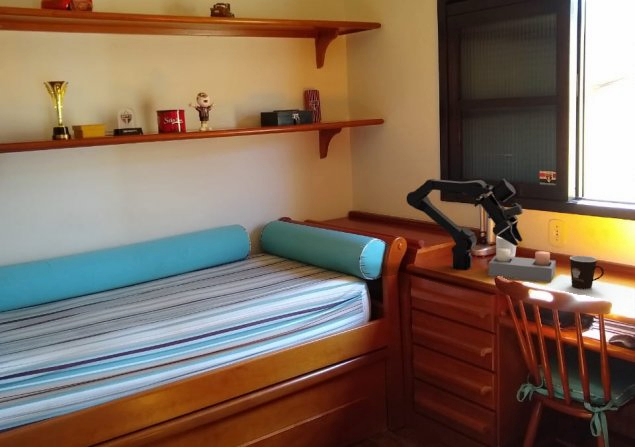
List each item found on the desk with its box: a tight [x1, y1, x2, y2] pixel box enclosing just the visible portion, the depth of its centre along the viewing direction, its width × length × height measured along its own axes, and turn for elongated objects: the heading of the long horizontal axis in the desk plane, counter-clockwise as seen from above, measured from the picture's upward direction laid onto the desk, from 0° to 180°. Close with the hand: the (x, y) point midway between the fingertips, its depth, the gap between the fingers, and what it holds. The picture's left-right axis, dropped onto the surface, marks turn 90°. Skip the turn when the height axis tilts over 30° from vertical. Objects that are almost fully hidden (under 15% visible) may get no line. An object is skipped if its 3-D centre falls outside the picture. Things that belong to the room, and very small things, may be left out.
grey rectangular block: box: [488, 254, 556, 283], centre depth 237 cm, size 22×12×5 cm, turn 64°
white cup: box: [495, 235, 518, 257], centre depth 256 cm, size 8×8×10 cm
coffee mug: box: [569, 255, 605, 290], centre depth 219 cm, size 12×9×10 cm
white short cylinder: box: [495, 248, 510, 262], centre depth 239 cm, size 5×5×4 cm
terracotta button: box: [534, 250, 551, 266], centre depth 233 cm, size 5×5×4 cm
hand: (519, 243), depth 236 cm, fingers open, 9 cm apart
